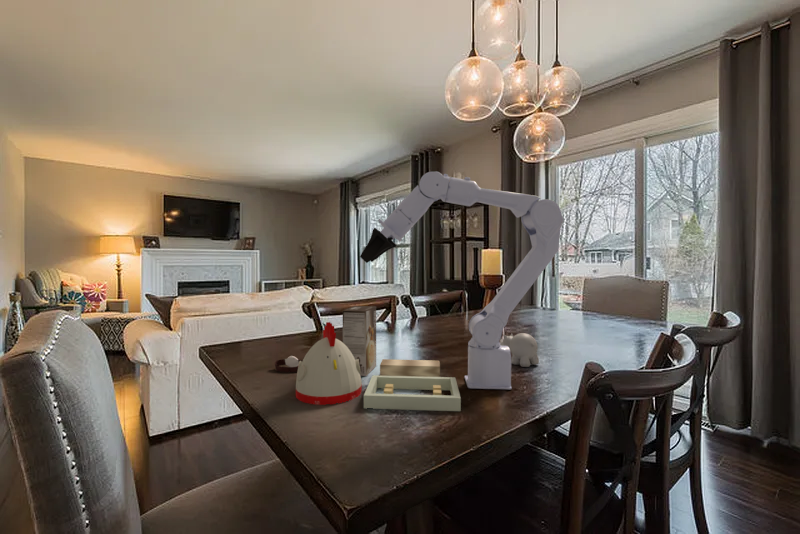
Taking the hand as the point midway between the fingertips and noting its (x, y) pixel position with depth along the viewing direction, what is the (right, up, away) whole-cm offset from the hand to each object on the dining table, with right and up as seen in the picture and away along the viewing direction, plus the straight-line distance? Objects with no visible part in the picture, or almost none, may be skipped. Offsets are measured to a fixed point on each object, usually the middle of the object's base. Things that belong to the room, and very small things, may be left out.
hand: (366, 259), depth 89 cm
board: (+10, -29, +2) cm, 31 cm away
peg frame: (+11, -29, -11) cm, 32 cm away
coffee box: (-2, -28, +8) cm, 30 cm away
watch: (-20, -29, +8) cm, 36 cm away
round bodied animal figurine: (+40, -28, +17) cm, 52 cm away
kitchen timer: (-7, -29, -8) cm, 31 cm away
